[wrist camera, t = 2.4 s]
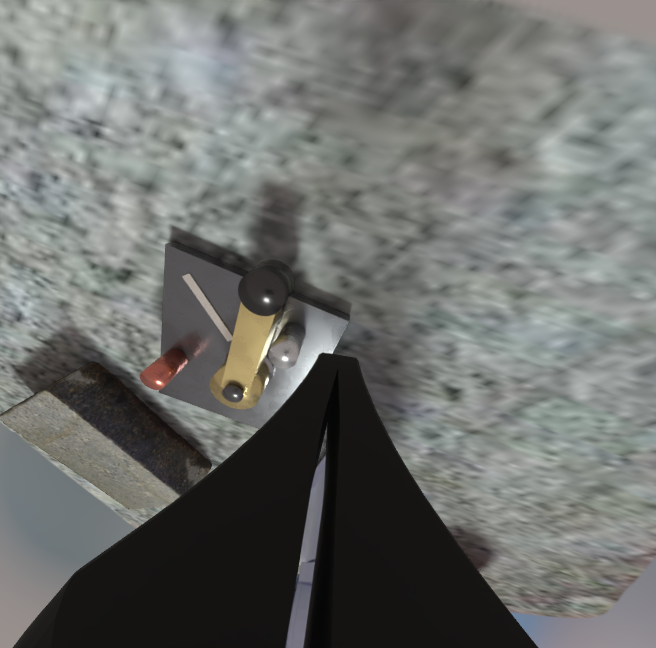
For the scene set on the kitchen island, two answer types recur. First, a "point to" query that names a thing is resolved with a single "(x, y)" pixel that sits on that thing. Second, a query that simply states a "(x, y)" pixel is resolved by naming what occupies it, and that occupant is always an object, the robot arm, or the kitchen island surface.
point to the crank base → (230, 336)
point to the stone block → (109, 438)
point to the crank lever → (253, 335)
